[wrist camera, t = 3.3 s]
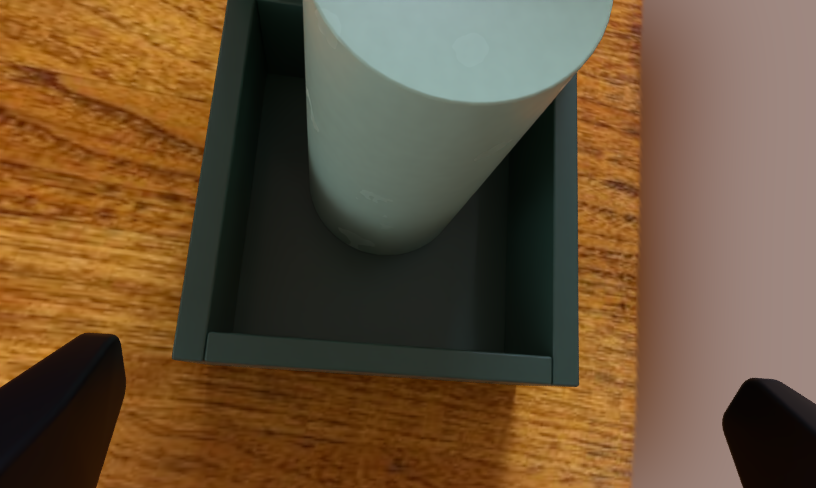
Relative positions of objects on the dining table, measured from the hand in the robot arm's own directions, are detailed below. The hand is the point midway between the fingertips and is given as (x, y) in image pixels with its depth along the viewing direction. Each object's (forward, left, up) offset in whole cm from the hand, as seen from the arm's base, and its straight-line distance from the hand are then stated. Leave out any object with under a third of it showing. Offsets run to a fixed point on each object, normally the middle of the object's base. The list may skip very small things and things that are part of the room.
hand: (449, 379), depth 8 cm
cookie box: (+6, -1, -13) cm, 14 cm away
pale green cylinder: (+7, -2, -12) cm, 14 cm away
